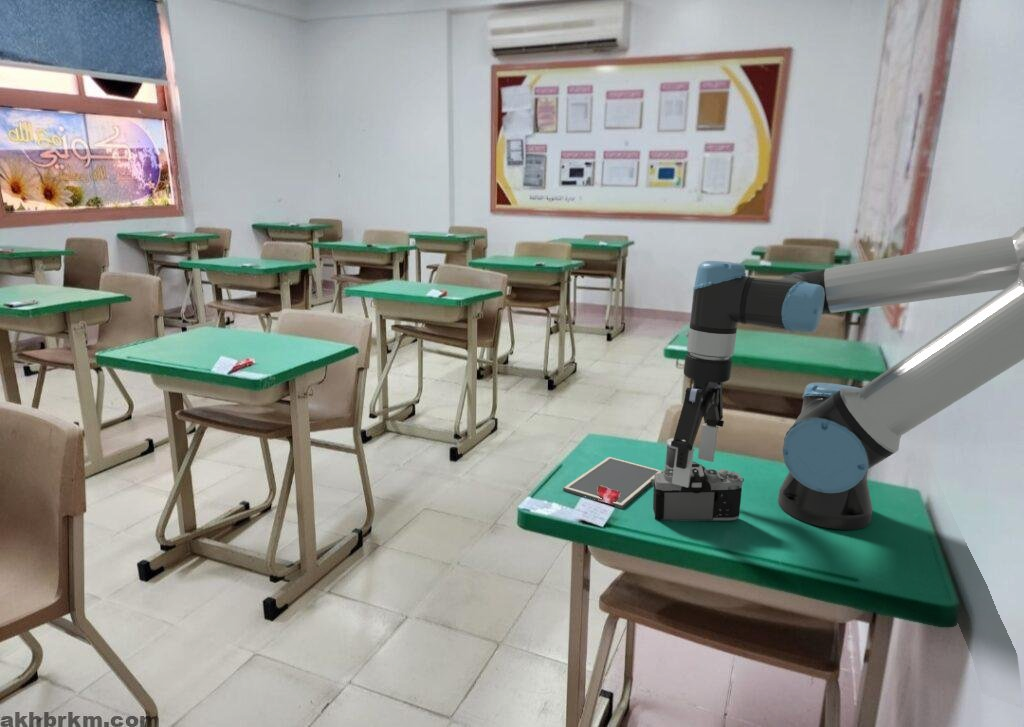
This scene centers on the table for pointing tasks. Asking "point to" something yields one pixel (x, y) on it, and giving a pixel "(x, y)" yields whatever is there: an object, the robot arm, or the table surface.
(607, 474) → the mat
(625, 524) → the table surface
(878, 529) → the table surface
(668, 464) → the lens
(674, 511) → the camera
